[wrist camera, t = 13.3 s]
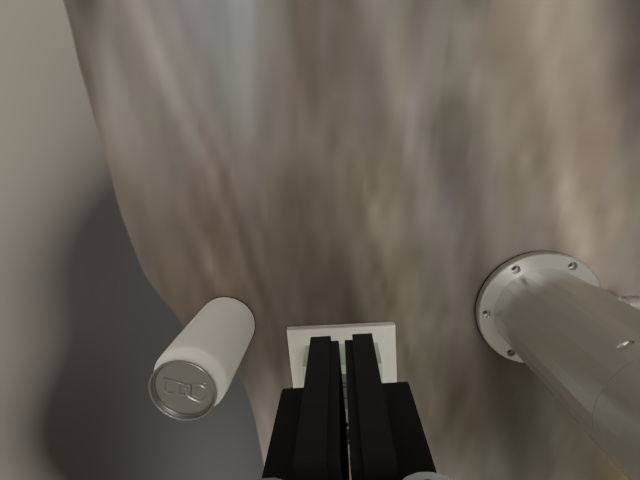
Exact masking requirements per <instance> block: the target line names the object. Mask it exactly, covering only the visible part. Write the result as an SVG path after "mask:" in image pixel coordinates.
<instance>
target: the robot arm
mask: <svg viewBox="0 0 640 480" xmlns="http://www.w3.org/2000/svg"><path fill="white" fill-rule="evenodd" d="M513 267H514V268H513ZM512 268H513V269H512ZM476 321H477V325H478V328H479V330H480V333H481V334H482V336H483V337H484V339H485V340H486V342H487V343H488V344H489V345H490V346H491V348H492V349H494V350H495V351H496V352H497V353H499V354H500V355H502V356H503V357H505V358H507V359H510V360H513V361H516V362H519V363H525V364H526V365H527V366H528V367H529V369H530V370H531V371H532V372H533V373H534V374H535V375H536V376H537V378H538V379H539V380H540V381H541V382H542V383H543V384H544V385H545V387H546V388H547V389H548V390H549V391H550V392H551V393H552V394H553V396H554V397H555V398H556V399H557V400H558V401H559V402H560V403H561V405H562V406H563V407H564V408H565V409H566V410H567V411H568V412H569V414H570V415H571V416H572V417H573V418H574V419H575V420H576V421H577V423H578V424H579V425H580V426H581V427H582V428H583V429H584V430H585V432H586V433H587V434H588V435H589V436H590V437H591V438H592V439H593V441H594V442H595V443H596V444H597V445H598V446H599V447H600V448H601V450H602V451H603V452H604V453H605V454H606V455H607V456H608V457H609V458H610V459H611V460H612V462H613V463H614V464H615V465H616V466H617V467H618V468H619V469H620V470H621V471H622V472H623V473H624V474H625V475H626V476H627V477H628V478H629V479H631V480H640V297H639V296H624V297H618V296H616V295H614V294H612V293H610V292H608V291H606V290H604V289H602V287H601V284H600V282H599V280H598V278H597V276H596V275H595V274H594V272H593V271H592V270H591V269H590V268H589V267H588V266H586V265H585V264H584V263H582V262H581V261H579V260H577V259H575V258H573V257H571V256H568V255H565V254H562V253H559V252H552V251H535V252H530V253H526V254H522V255H520V256H517V257H515V258H512V259H510V260H509V261H507V262H506V263H504V264H502V265H501V266H500V267H499V268H497V269H496V270H495V271H494V272H493V273H492V274H491V275H490V276H489V278H488V279H487V280H486V282H485V283H484V285H483V287H482V289H481V290H480V292H479V296H478V299H477V302H476ZM352 339H353V340H345V359H346V381H347V404H348V426H349V448H350V464H351V476H352V480H454V479H452V478H450V477H448V476H446V475H443V474H439V473H437V472H436V469H435V466H434V463H433V460H432V456H431V453H430V450H429V447H428V444H427V440H426V437H425V434H424V431H423V428H422V424H421V421H420V418H419V415H418V412H417V409H416V405H415V402H414V399H413V396H412V393H411V389H410V386H409V384H408V382H394V383H382V382H381V377H380V372H379V367H378V362H377V357H376V352H375V347H374V342H373V337H372V333H365V334H352ZM259 480H349V460H348V436H347V422H346V411H345V401H344V391H343V380H342V370H341V360H340V350H339V341H331V336H320V337H311V338H310V345H309V352H308V359H307V367H306V374H305V381H304V388H288V389H283V390H282V393H281V397H280V401H279V405H278V410H277V414H276V419H275V423H274V427H273V432H272V436H271V440H270V445H269V449H268V454H267V458H266V462H265V467H264V471H263V476H262V479H259Z"/></svg>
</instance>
